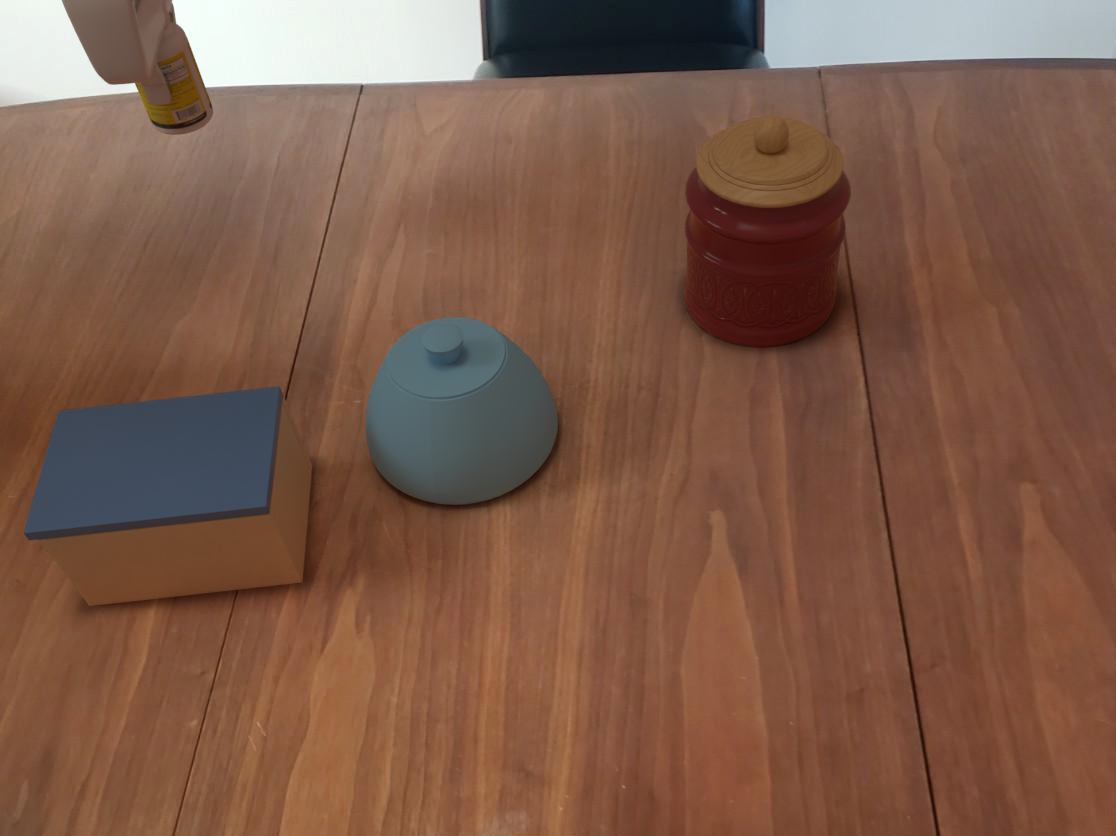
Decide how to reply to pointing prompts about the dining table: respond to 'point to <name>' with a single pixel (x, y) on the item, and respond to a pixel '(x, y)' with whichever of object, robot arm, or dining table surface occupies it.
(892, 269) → the dining table surface
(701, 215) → the kitchen canister
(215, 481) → the chest lid
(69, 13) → the robot arm
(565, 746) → the dining table surface
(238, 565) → the chest
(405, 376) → the sugar bowl
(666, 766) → the dining table surface
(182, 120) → the supplement bottle
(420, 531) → the dining table surface
